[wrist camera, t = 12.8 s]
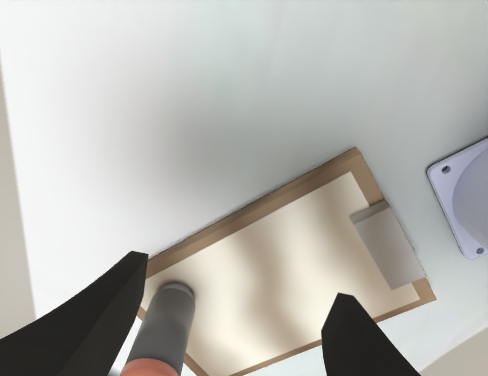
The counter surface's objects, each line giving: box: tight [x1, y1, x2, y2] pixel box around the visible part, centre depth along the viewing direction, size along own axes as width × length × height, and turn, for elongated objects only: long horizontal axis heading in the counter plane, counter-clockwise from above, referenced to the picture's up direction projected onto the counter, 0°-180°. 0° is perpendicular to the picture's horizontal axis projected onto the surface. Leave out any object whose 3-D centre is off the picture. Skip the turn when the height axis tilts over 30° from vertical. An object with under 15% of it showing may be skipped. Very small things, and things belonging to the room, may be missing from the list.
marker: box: [120, 282, 196, 376], centre depth 21 cm, size 3×3×8 cm
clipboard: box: [137, 147, 436, 376], centre depth 24 cm, size 20×13×2 cm, turn 123°
